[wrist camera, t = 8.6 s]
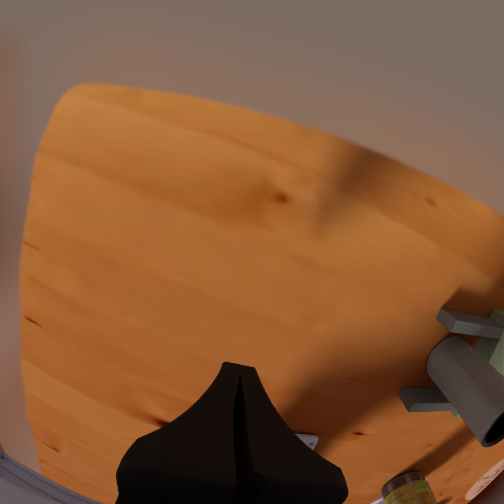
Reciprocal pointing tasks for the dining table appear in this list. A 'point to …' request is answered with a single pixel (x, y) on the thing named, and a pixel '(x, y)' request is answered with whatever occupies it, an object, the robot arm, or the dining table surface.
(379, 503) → the mobile phone
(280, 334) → the dining table surface
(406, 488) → the sauce bottle
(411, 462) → the dining table surface
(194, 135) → the dining table surface
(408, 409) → the mount
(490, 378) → the grey hollow tube
